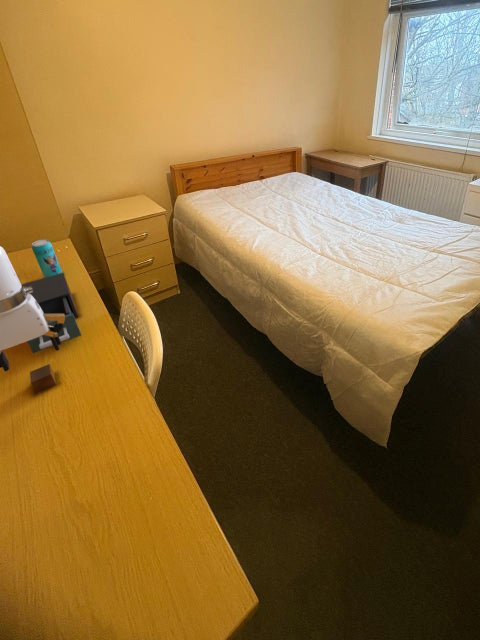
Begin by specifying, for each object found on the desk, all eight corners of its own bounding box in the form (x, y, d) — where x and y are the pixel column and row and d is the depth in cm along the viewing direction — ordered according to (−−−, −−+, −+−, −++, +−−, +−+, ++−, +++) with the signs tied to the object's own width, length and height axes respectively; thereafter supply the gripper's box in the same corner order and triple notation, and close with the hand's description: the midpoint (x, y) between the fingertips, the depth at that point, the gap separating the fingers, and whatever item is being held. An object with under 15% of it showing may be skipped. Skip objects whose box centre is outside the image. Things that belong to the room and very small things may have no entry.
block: (36, 393, 78) (30, 382, 77) (35, 382, 81) (29, 371, 79) (56, 384, 81) (51, 374, 79) (54, 374, 83) (49, 363, 82)
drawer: (84, 345, 91) (75, 324, 88) (34, 364, 85) (23, 343, 81) (74, 311, 104) (66, 292, 100) (30, 326, 98) (20, 306, 94)
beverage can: (52, 282, 120) (37, 247, 113) (41, 279, 121) (26, 244, 114) (66, 274, 124) (53, 240, 118) (56, 271, 126) (42, 237, 119)
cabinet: (78, 317, 103) (69, 293, 99) (29, 334, 96) (17, 309, 92) (72, 295, 113) (63, 272, 109) (27, 309, 106) (16, 285, 101)
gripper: (50, 277, 76) (73, 332, 84) (-51, 307, 66) (-15, 365, 74) (53, 292, 71) (77, 348, 79) (-56, 326, 61) (-16, 387, 69)
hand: (33, 356), depth 76 cm, fingers open, 9 cm apart
